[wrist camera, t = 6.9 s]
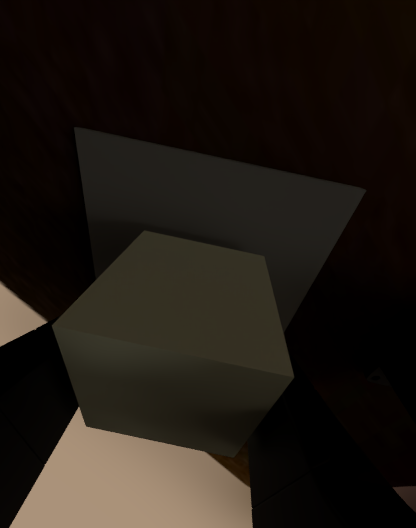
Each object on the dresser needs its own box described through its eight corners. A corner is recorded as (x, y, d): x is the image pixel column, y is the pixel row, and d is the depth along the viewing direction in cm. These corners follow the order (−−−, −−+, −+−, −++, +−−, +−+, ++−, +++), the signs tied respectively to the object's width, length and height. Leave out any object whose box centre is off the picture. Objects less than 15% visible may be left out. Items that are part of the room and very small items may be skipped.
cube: (264, 256, 8) (294, 377, 4) (234, 334, 11) (233, 457, 7) (144, 230, 8) (51, 325, 4) (142, 315, 11) (85, 426, 7)
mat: (359, 187, 8) (366, 189, 8) (266, 354, 14) (267, 361, 13) (82, 127, 8) (74, 127, 8) (106, 320, 14) (102, 326, 13)
